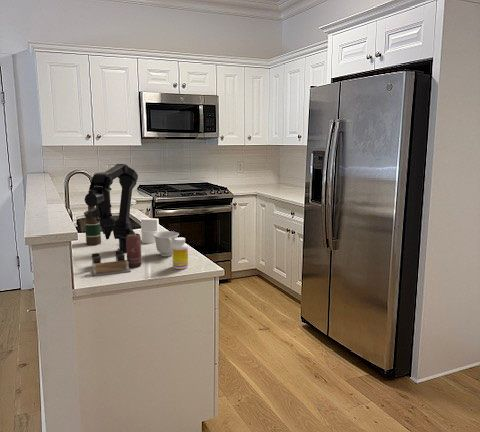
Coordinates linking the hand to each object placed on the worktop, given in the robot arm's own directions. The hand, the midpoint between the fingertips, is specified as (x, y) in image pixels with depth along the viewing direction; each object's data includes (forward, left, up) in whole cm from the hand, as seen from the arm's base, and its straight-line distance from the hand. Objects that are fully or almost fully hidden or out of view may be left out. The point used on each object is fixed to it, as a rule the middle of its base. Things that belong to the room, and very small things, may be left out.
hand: (105, 236), depth 197 cm
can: (+10, +10, -12) cm, 19 cm away
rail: (+14, 0, -11) cm, 18 cm away
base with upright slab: (-28, +25, -12) cm, 39 cm away
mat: (+14, 0, -12) cm, 19 cm away
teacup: (0, +27, -12) cm, 30 cm away
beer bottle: (-34, -3, -12) cm, 36 cm away
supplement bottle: (+19, +28, -12) cm, 36 cm away
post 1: (+6, -5, -12) cm, 14 cm away
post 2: (+6, +5, -12) cm, 14 cm away
